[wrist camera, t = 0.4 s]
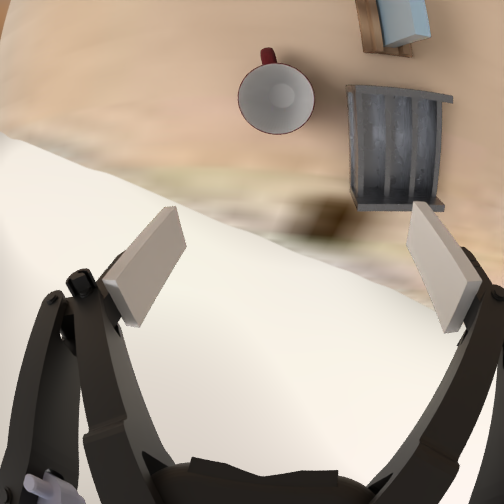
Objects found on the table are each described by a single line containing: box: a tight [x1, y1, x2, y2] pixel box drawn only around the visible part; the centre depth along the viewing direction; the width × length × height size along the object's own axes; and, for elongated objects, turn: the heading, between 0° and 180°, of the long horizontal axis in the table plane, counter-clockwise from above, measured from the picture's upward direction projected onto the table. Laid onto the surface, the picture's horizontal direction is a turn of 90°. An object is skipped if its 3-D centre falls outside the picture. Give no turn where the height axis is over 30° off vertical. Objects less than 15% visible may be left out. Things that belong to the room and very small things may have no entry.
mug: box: [238, 48, 315, 135], centre depth 29 cm, size 10×8×10 cm
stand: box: [355, 0, 412, 57], centre depth 22 cm, size 14×7×3 cm, turn 8°
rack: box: [346, 85, 453, 212], centre depth 31 cm, size 16×13×7 cm
